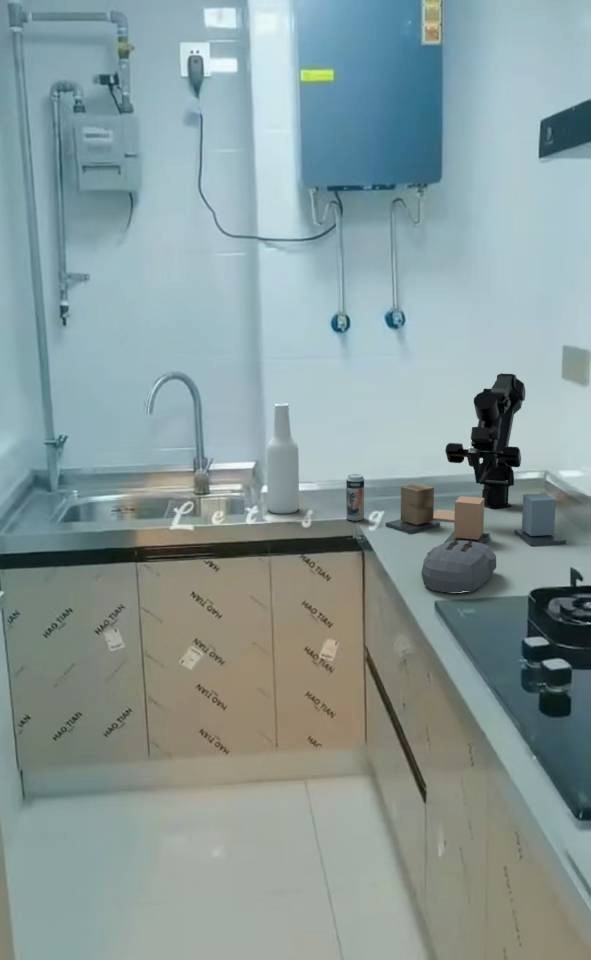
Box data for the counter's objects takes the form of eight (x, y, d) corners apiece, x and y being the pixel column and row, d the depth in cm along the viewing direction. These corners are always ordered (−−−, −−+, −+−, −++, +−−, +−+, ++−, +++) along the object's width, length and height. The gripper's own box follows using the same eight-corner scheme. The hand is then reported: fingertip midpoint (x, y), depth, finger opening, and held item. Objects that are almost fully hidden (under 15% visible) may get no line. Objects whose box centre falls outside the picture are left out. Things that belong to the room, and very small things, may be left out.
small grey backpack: (438, 564, 216) (408, 591, 199) (439, 529, 214) (409, 553, 197) (503, 572, 209) (478, 602, 192) (504, 536, 208) (479, 563, 190)
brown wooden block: (417, 516, 250) (417, 483, 248) (433, 520, 245) (434, 487, 243) (400, 520, 247) (401, 486, 244) (416, 524, 242) (417, 491, 240)
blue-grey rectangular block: (521, 529, 237) (523, 494, 235) (544, 527, 238) (546, 493, 236) (530, 536, 231) (532, 500, 229) (554, 534, 232) (555, 499, 230)
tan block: (459, 530, 236) (460, 496, 234) (483, 533, 234) (484, 498, 232) (454, 537, 231) (454, 501, 229) (478, 539, 229) (479, 504, 227)
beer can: (343, 520, 252) (343, 476, 249) (350, 516, 256) (350, 473, 253) (359, 522, 249) (359, 478, 247) (367, 518, 254) (367, 474, 251)
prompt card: (437, 511, 259) (437, 509, 259) (470, 514, 256) (470, 512, 256) (429, 519, 251) (429, 517, 251) (462, 523, 248) (462, 520, 248)
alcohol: (271, 505, 268) (269, 401, 261) (301, 506, 266) (300, 401, 259) (264, 513, 259) (262, 406, 252) (295, 515, 258) (294, 406, 251)
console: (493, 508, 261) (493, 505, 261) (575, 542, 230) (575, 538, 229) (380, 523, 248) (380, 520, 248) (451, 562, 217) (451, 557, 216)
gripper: (447, 412, 242) (436, 462, 235) (521, 415, 235) (511, 468, 228) (454, 436, 251) (443, 486, 244) (524, 440, 244) (516, 491, 237)
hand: (477, 482), depth 238 cm, fingers closed
